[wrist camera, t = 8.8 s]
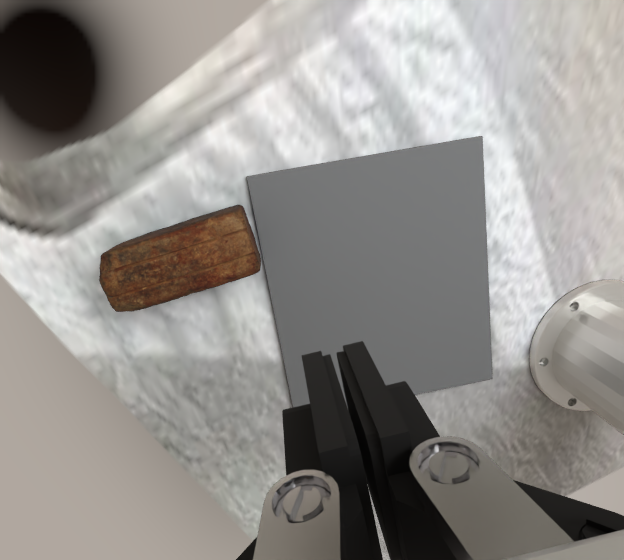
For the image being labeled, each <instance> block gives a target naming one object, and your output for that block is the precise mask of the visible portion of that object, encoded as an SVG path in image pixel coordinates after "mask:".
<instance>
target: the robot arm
mask: <svg viewBox="0 0 624 560" xmlns="http://www.w3.org/2000/svg"><path fill="white" fill-rule="evenodd" d="M336 354H337V359H338V364H339V369H340V374H341V378H342V383H343V388H344V393H345V398H346V402H347V405H346V402H345V399H344V396H343V392H342V389H341V386H340V383H339V380H338V377H337V374H336V371H335V367H334V364H333V361H332V358H331V355H330V354H329V355H324V356H323V355H322V352H321V351H318V352H314V353H309V354H305V355H302V361H303V367H304V373H305V378H306V384H307V390H308V395H309V401H310V404H306V405H302V406H297V407H293V408H289V409H285V410H283V429H284V444H285V460H286V475H287V476H285V477H283V478H281V479H280V480H279V481H278V482H276V483H275V484H274V485H273V486H272V488H271V489H270V490H269V492H268V493H267V495H266V498H265V501H264V504H263V509H262V515H261V520H260V525H259V531H258V536H257V538H256V539H255V540H254V541H253V542H252V543H251V544H250V545H249V546H248V547H247V548H246V550H245V551H244V552H243V553H242V554H241V555H240V556H239V557H238V558H237V559H236V560H383V558H382V553H381V548H380V544H379V539H378V534H377V529H376V524H375V519H374V514H373V510H372V505H371V500H370V495H369V491H370V494H371V497H372V501H373V504H374V507H375V511H376V514H377V517H378V520H379V524H380V527H381V530H382V533H383V537H384V540H385V543H386V546H387V550H388V553H389V556H390V559H391V560H624V516H622V515H620V514H618V513H615V512H612V511H609V510H605V509H602V508H599V507H596V506H592V505H590V504H587V503H583V502H580V501H577V500H574V499H571V498H568V497H565V496H561V495H558V494H555V493H552V492H549V491H546V490H543V489H539V488H536V487H533V486H530V485H527V484H524V483H521V482H517V481H514V480H512V479H511V478H510V477H509V476H508V475H507V474H506V473H505V472H504V471H503V470H502V469H501V468H500V467H499V466H498V465H497V464H496V463H495V462H494V461H493V460H492V459H491V458H490V457H489V456H488V455H487V454H486V453H485V452H484V451H483V450H482V449H481V448H480V447H478V446H477V445H475V444H474V443H473V442H470V441H468V440H465V439H463V438H457V437H452V436H447V437H440V436H439V434H438V432H437V431H436V429H435V428H434V426H433V424H432V423H431V421H430V419H429V418H428V416H427V415H426V413H425V411H424V410H423V408H422V406H421V405H420V403H419V401H418V400H417V398H416V397H415V395H414V393H413V392H412V390H411V388H410V387H409V385H408V384H407V382H406V381H402V382H398V383H394V384H390V385H385V383H384V381H383V379H382V377H381V375H380V373H379V371H378V369H377V367H376V365H375V364H374V362H373V360H372V358H371V356H370V354H369V352H368V350H367V348H366V346H365V344H364V342H363V341H361V342H356V343H352V344H348V345H343V351H342V352H337V353H336ZM530 368H531V373H532V376H533V378H534V381H535V383H536V384H537V386H538V387H539V388H540V390H541V391H542V392H543V393H544V394H545V395H546V396H547V397H548V398H549V399H551V400H552V401H553V402H555V403H557V404H558V405H560V406H562V407H564V408H567V409H570V410H577V411H594V412H595V413H596V414H597V415H599V416H600V417H601V418H603V419H604V420H605V421H606V422H608V423H609V424H610V425H611V426H613V427H614V428H615V429H617V430H618V431H619V432H620V433H622V434H623V435H624V281H620V280H601V281H596V282H591V283H588V284H586V285H583V286H580V287H578V288H576V289H575V290H573V291H571V292H569V293H568V294H566V295H565V296H564V297H562V298H561V299H560V300H559V301H558V302H556V303H555V304H554V305H553V306H552V308H551V309H550V310H549V311H548V312H547V313H546V314H545V316H544V317H543V319H542V321H541V322H540V324H539V325H538V327H537V330H536V332H535V334H534V337H533V340H532V344H531V348H530ZM347 407H348V408H347ZM367 484H368V485H367ZM368 488H369V490H368Z"/></svg>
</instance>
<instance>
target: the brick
mask: <svg viewBox="0 0 624 560" xmlns="http://www.w3.org/2000/svg"><path fill="white" fill-rule="evenodd" d="M260 266H261V258H260V254H259V251H258V248H257V245H256V241H255V237H254V234H253V232H252V229H251V226H250V224H249V221H248V218H247V216H246V213H245V210H244V208H243V206H241V205H236V206H232V207H229V208H225V209H222V210H219V211H216V212H213V213H209V214H206V215H202V216H199V217H196V218H193V219H190V220H187V221H185V222H181V223H178V224H175V225H173V226H170V227H167V228H163V229H160V230H157V231H154V232H150V233H147V234H145V235H142V236H140V237H137V238H134V239H131V240H128V241H126V242H123V243H121V244H119V245H117V246H115V247H113V248H111V249H110V250H108V251H107V252H105V253H103V254H102V255H101V263H100V279H99V281H100V284H101V286H102V288H103V290H104V292H105V293H106V295H107V298H108V301H109V302H110V305H111V306H112V308H113V309H115V311H117V312H124V311H135V310H140V309H144V308H148V307H151V306H153V305H158V304H161V303H165V302H168V301H171V300H175V299H178V298H180V297H183V296H187V295H189V294H192V293H196V292H200V291H203V290H206V289H209V288H213V287H216V286H220V285H223V284H225V283H228V282H232V281H235V280H238V279H241V278H244V277H247V276H250V275H253V274H255V273H257V272H259V271H260Z"/></svg>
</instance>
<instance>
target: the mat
mask: <svg viewBox="0 0 624 560" xmlns="http://www.w3.org/2000/svg"><path fill="white" fill-rule="evenodd" d="M247 181H248V186H249V190H250V195H251V200H252V205H253V210H254V215H255V220H256V225H257V230H258V235H259V240H260V245H261V250H262V255H263V260H264V265H265V270H266V275H267V280H268V285H269V290H270V295H271V300H272V305H273V310H274V315H275V320H276V325H277V330H278V335H279V340H280V345H281V350H282V355H283V360H284V365H285V370H286V375H287V380H288V385H289V390H290V395H291V400H292V404H293V407H297V406H302V405H306V404H310V401H309V395H308V390H307V384H306V378H305V373H304V367H303V361H302V355H305V354H309V353H314V352H318V351H321V352H322V355H323V356H324V355H329V354H330V355H331V358H332V361H333V364H334V367H335V371H336V374H337V377H338V380H339V383H340V386H341V389H342V392H343V396H344V399H345V402H346V398H345V393H344V388H343V383H342V378H341V374H340V369H339V364H338V359H337V354H336V353H337V352H342V351H343V345H348V344H352V343H356V342H361V341H363V342H364V344H365V346H366V348H367V350H368V352H369V354H370V356H371V358H372V360H373V362H374V364H375V365H376V367H377V369H378V371H379V373H380V375H381V377H382V379H383V381H384V383H385V385H390V384H394V383H398V382H402V381H406V382H407V384H408V385H409V387H410V388H411V390H412V392H413V393H414V395H417V394H422V393H427V392H432V391H437V390H441V389H446V388H451V387H456V386H461V385H465V384H470V383H475V382H480V381H485V380H489V379H493V378H492V354H491V330H490V306H489V282H488V258H487V233H486V209H485V185H484V161H483V137H482V136H478V137H472V138H467V139H461V140H455V141H449V142H443V143H438V144H432V145H426V146H420V147H414V148H409V149H403V150H397V151H391V152H385V153H380V154H374V155H368V156H362V157H356V158H351V159H345V160H339V161H333V162H327V163H322V164H316V165H310V166H304V167H298V168H293V169H287V170H281V171H275V172H269V173H263V174H258V175H252V176H247ZM346 405H347V402H346ZM347 408H348V407H347Z"/></svg>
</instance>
